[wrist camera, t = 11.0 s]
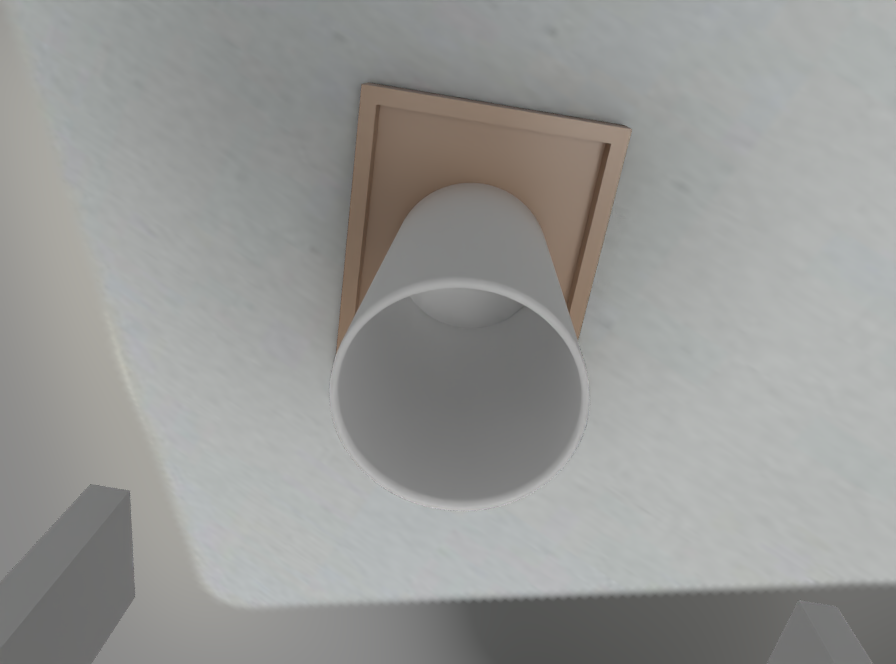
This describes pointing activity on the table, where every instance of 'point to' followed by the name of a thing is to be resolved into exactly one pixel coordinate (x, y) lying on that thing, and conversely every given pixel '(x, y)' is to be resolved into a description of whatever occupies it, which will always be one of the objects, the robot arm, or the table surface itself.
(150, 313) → the table surface
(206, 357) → the table surface
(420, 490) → the cup
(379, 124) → the tray
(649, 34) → the table surface
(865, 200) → the table surface
